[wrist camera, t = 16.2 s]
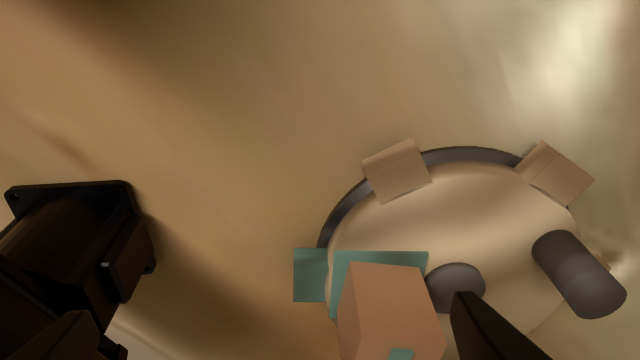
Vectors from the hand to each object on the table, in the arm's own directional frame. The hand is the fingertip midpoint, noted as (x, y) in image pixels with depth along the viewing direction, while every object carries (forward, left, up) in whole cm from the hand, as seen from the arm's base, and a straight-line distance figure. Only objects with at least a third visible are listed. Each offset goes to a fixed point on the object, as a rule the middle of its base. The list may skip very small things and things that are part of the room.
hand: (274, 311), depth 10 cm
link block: (+4, -10, -10) cm, 14 cm away
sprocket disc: (+9, -10, -12) cm, 18 cm away
